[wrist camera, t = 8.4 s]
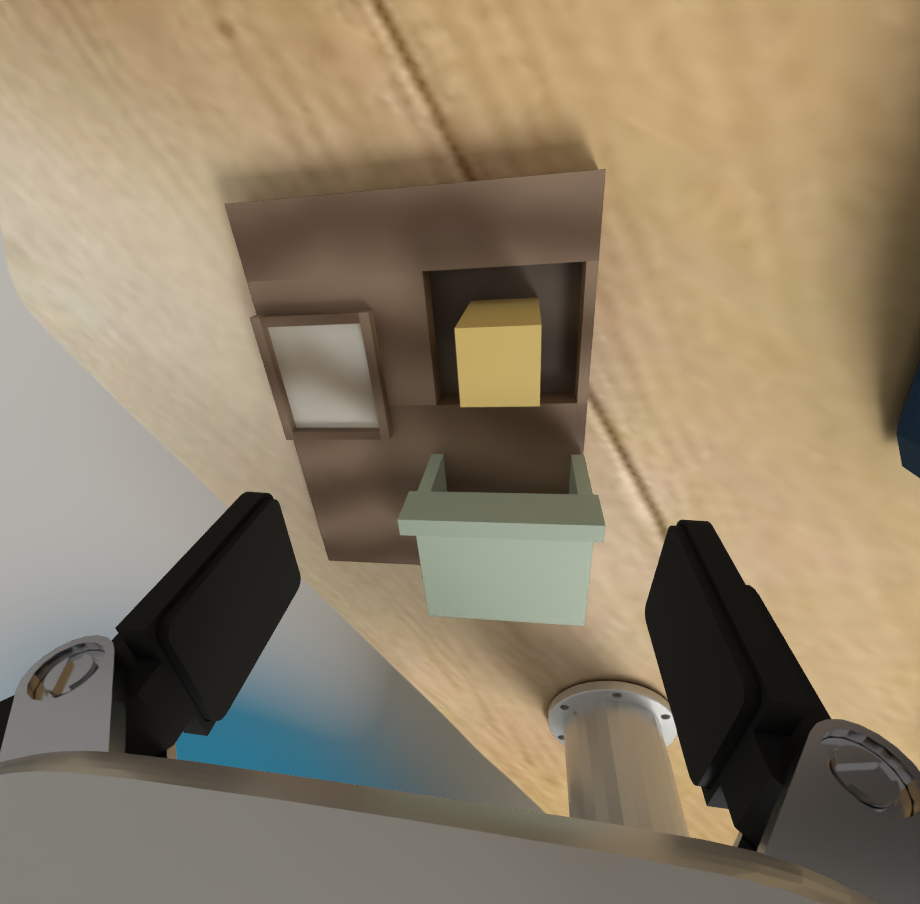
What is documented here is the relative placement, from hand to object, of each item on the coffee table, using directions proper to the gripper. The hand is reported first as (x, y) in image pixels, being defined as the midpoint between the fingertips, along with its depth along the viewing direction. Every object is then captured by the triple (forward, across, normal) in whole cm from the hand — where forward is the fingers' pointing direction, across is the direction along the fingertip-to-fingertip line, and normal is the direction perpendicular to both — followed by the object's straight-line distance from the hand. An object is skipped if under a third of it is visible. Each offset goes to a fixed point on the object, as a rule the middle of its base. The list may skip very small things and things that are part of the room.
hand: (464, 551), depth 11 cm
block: (+19, 0, 0) cm, 19 cm away
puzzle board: (+19, +4, +5) cm, 20 cm away
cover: (+17, -1, +11) cm, 20 cm away
